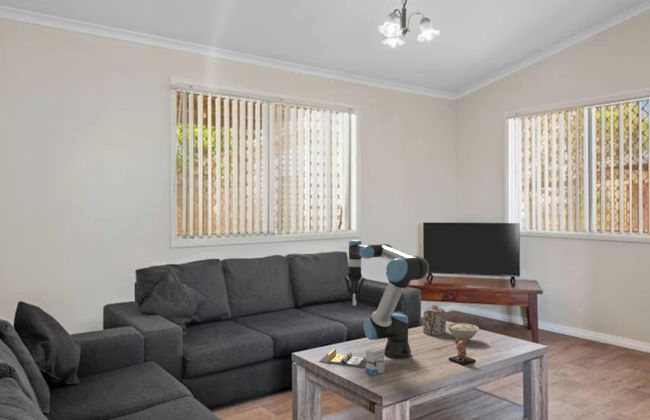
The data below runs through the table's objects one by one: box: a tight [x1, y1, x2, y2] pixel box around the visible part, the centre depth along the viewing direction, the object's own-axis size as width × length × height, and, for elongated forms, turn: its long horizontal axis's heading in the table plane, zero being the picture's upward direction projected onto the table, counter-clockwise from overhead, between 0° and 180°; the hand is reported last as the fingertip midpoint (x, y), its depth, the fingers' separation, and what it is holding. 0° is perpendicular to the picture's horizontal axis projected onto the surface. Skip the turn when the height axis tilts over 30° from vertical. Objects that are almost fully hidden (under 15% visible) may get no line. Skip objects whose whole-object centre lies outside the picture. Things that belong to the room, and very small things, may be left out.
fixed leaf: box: [341, 351, 365, 366], centre depth 261 cm, size 10×13×3 cm
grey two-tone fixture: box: [318, 353, 366, 369], centre depth 263 cm, size 25×14×1 cm, turn 70°
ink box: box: [365, 346, 385, 376], centre depth 246 cm, size 9×5×12 cm, turn 129°
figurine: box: [448, 339, 477, 366], centre depth 264 cm, size 10×10×12 cm
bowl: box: [446, 322, 479, 343], centre depth 304 cm, size 19×19×10 cm
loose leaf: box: [327, 348, 349, 364], centre depth 264 cm, size 10×12×4 cm
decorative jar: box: [422, 304, 447, 337], centre depth 322 cm, size 12×12×18 cm
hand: (354, 304), depth 292 cm, fingers closed
